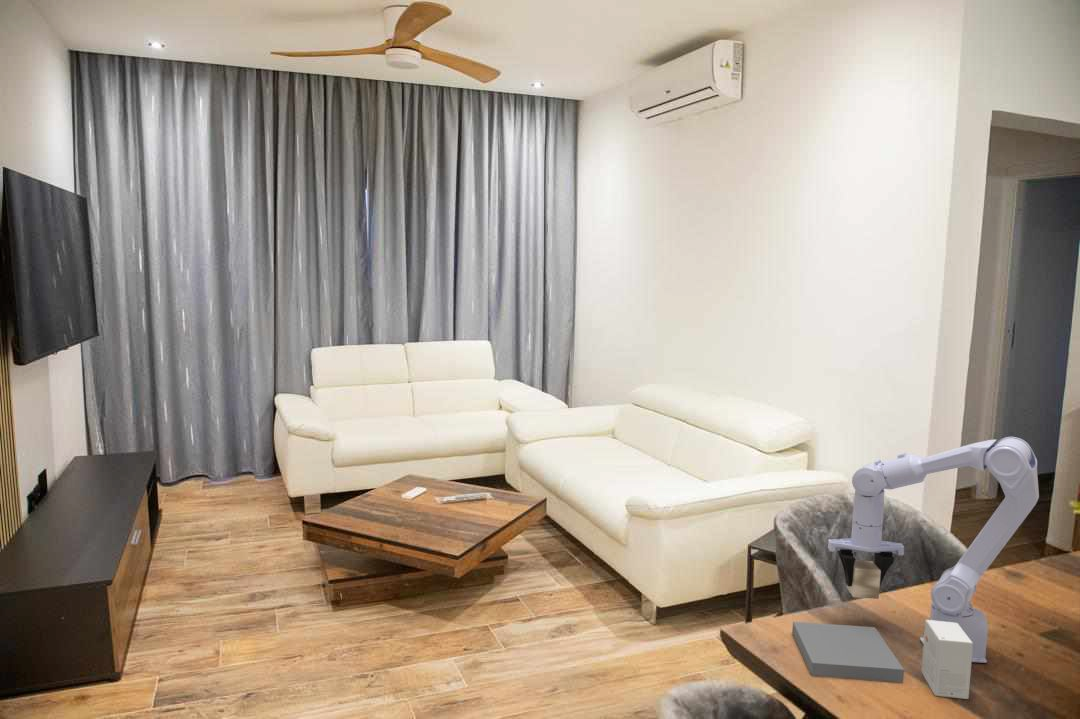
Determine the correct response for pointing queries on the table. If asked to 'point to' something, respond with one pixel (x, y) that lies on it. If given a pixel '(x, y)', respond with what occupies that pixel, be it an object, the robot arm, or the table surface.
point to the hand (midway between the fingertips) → (862, 585)
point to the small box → (947, 659)
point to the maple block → (865, 580)
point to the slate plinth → (846, 652)
